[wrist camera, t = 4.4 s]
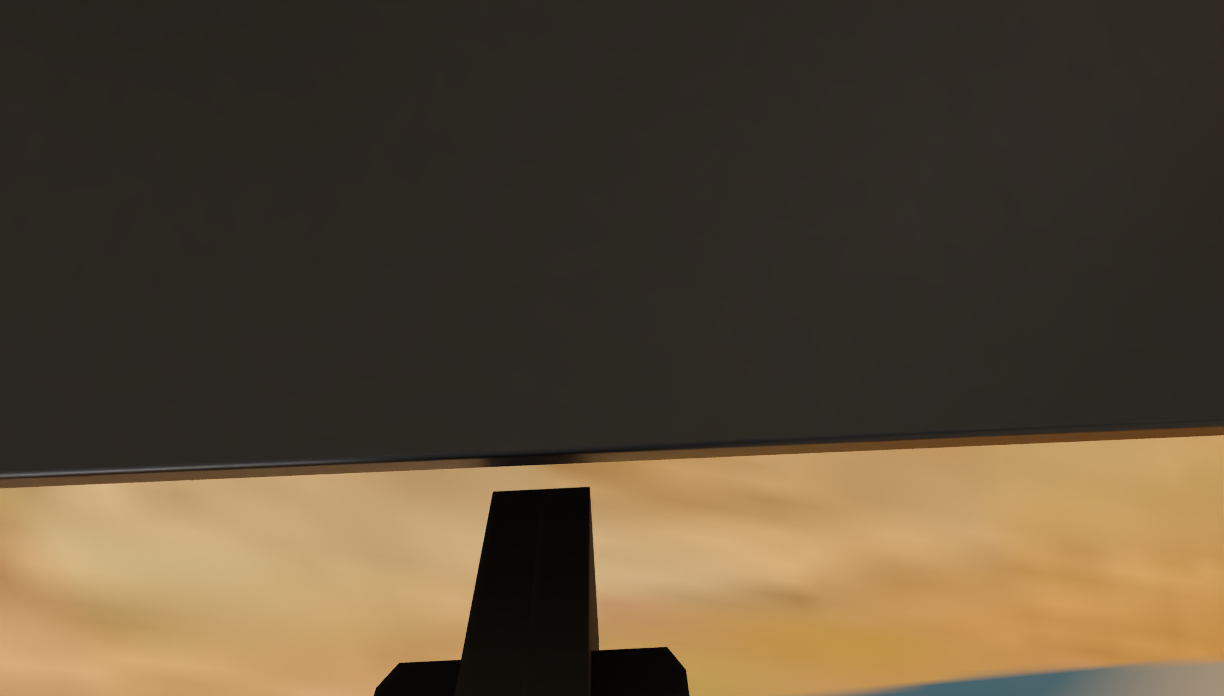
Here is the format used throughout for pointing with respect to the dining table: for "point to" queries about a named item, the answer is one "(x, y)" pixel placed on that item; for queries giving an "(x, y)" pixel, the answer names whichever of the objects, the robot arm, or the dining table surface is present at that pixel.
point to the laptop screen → (600, 231)
